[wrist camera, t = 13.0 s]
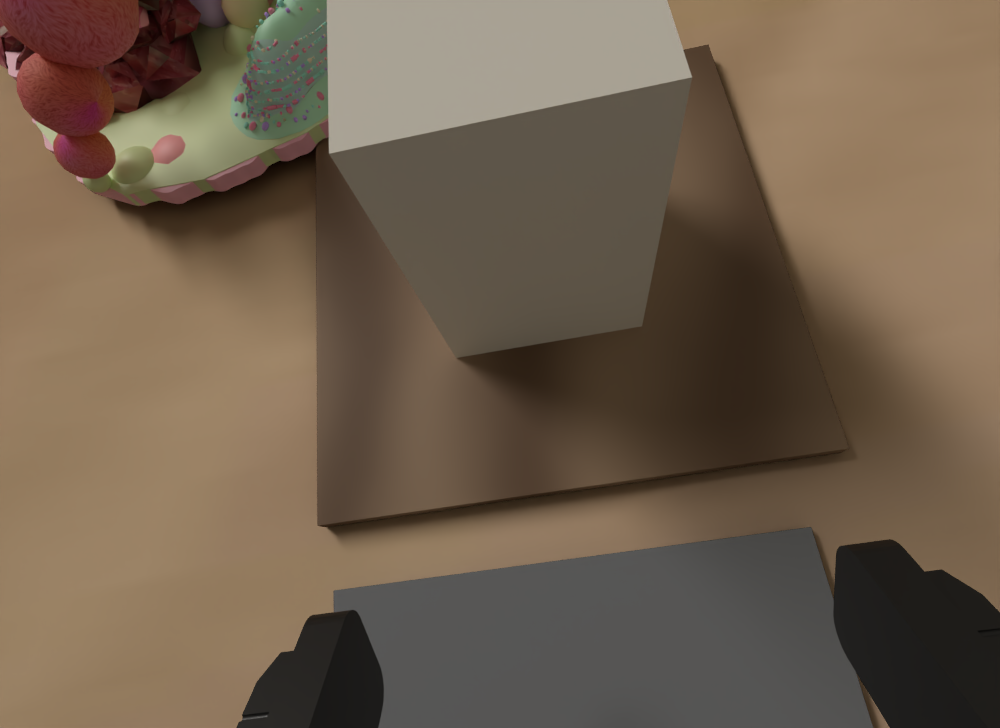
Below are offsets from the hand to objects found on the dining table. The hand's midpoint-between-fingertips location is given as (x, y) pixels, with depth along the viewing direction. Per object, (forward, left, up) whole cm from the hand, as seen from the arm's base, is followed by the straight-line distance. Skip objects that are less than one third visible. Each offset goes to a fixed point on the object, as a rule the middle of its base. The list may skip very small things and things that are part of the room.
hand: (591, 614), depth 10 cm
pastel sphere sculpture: (-30, +11, -7) cm, 33 cm away
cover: (-8, +7, -7) cm, 13 cm away
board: (-8, +7, -7) cm, 13 cm away
